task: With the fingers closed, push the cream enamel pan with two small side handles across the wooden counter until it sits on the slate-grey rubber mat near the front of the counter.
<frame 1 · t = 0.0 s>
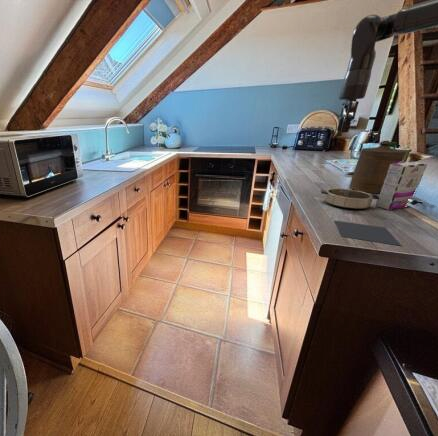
hand: (342, 131, 95), 27 cm above the countertop, tool pointing down, fingers open, 8 cm apart
mat: (364, 232, 73), on the countertop
milk carton: (371, 182, 126), on the countertop
wooden container: (368, 189, 114), on the countertop
candy bar box: (391, 207, 92), on the countertop
pan: (345, 204, 95), on the countertop
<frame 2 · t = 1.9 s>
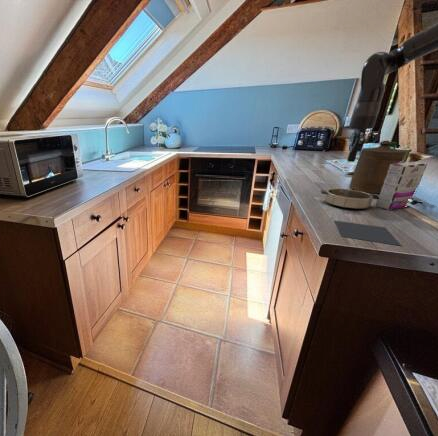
hand: (350, 161, 99), 15 cm above the countertop, tool pointing down, fingers closed
nothing on the countertop moved.
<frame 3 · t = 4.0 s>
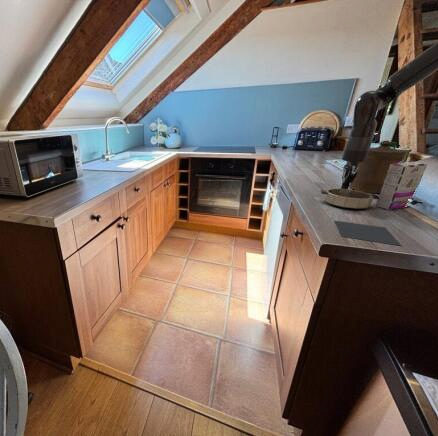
hand: (343, 191, 101), 3 cm above the countertop, tool pointing down, fingers closed
pan: (345, 204, 95), on the countertop, touching gripper
everything else where it was.
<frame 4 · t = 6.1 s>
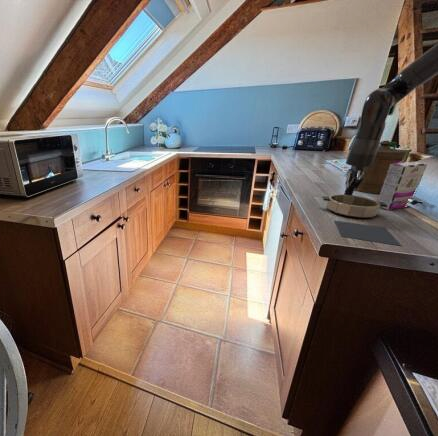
hand: (346, 197, 94), 3 cm above the countertop, tool pointing down, fingers closed
pan: (349, 212, 88), on the countertop, touching gripper
everything else where it was.
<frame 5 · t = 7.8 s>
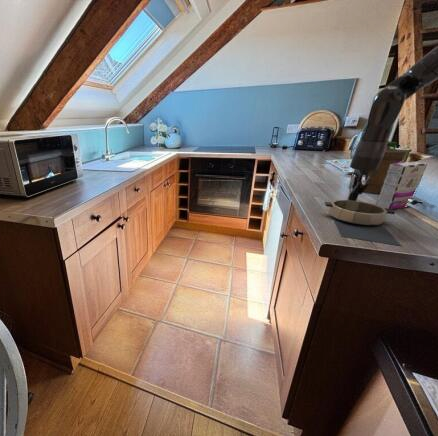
hand: (350, 203, 88), 3 cm above the countertop, tool pointing down, fingers closed
pan: (353, 219, 82), on the countertop, touching gripper, mat
everything else where it was.
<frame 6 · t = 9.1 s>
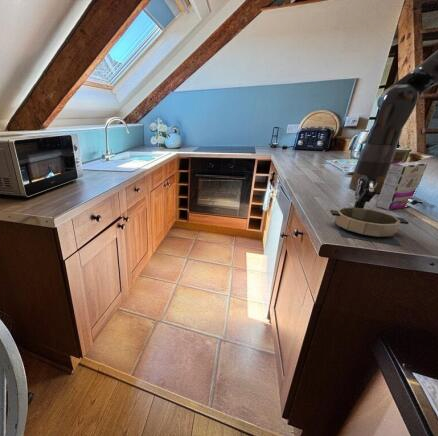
hand: (357, 211, 81), 3 cm above the countertop, tool pointing down, fingers closed
pan: (362, 229, 74), on the countertop, touching gripper
everything else where it was.
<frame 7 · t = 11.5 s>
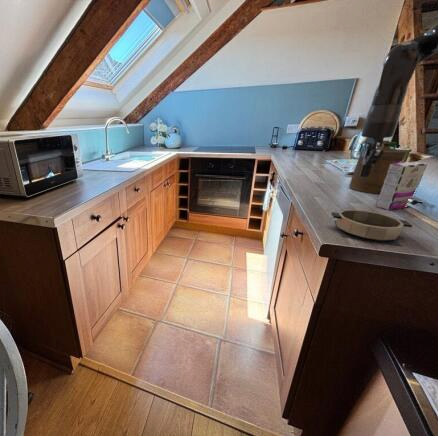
hand: (363, 176, 81), 13 cm above the countertop, tool pointing down, fingers closed
pan: (364, 232, 73), resting on mat
everything else where it was.
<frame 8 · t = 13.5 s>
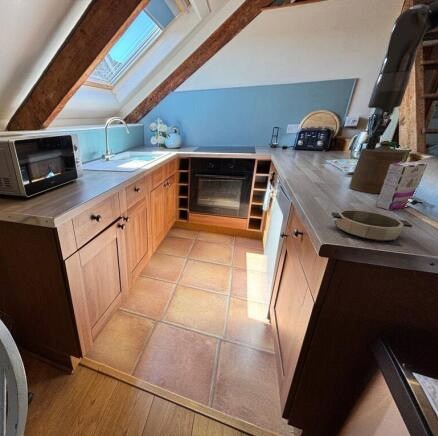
hand: (369, 149, 80), 22 cm above the countertop, tool pointing down, fingers closed
nothing on the countertop moved.
at the end: pan inside the target area on the mat (0.4 cm from its centre), point 0.1 cm above the mat's base; pan tilted 0°; pan moved 27.9 cm from its start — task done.
